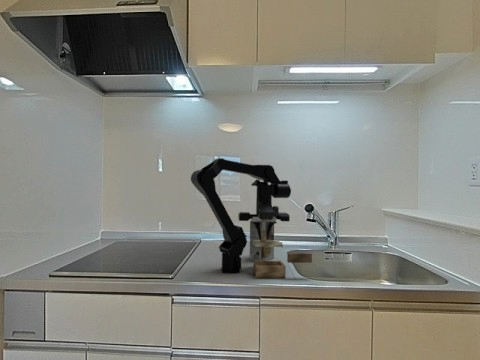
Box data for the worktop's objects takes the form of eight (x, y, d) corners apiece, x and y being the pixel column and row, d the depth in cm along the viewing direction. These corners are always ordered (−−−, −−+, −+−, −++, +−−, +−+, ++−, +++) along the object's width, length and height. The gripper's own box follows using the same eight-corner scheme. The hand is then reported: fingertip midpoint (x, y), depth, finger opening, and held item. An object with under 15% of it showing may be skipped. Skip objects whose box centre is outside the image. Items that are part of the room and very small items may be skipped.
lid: (255, 246, 133) (255, 233, 133) (252, 242, 141) (253, 229, 141) (282, 247, 134) (283, 233, 134) (278, 243, 142) (278, 230, 142)
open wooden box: (256, 278, 124) (256, 266, 123) (253, 272, 131) (253, 260, 131) (285, 278, 124) (285, 266, 124) (280, 271, 132) (281, 260, 132)
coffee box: (261, 256, 158) (262, 218, 158) (274, 258, 154) (274, 220, 154) (248, 259, 151) (249, 220, 151) (261, 262, 147) (262, 221, 147)
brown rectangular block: (288, 262, 124) (288, 253, 124) (287, 261, 126) (287, 252, 126) (311, 262, 125) (311, 253, 125) (310, 261, 127) (310, 252, 127)
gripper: (241, 199, 130) (240, 243, 130) (293, 199, 131) (292, 243, 131) (238, 197, 141) (237, 238, 141) (286, 198, 142) (285, 238, 143)
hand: (263, 239), depth 139 cm, fingers closed on lid, 2 cm apart
